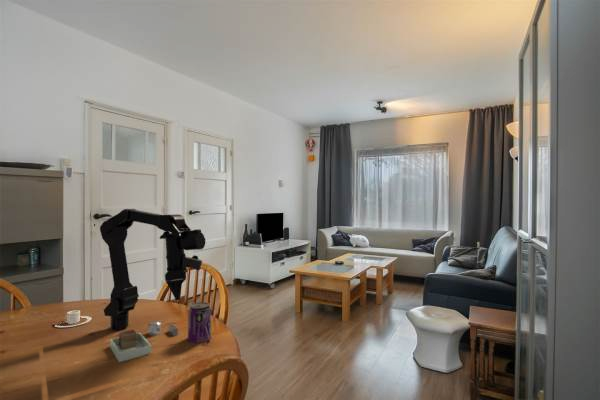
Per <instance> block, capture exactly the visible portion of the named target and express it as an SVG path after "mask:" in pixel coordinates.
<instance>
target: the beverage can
mask: <svg viewBox="0 0 600 400" xmlns="http://www.w3.org/2000/svg"><path fill="white" fill-rule="evenodd" d="M187 319H188V321H187V322H188V323H187V325H188V326H187V340H188V342H189V343H194V344H197V343H198V344H199V343H204V342H205V343H206V342H208V341H210V340H211V338H212V336H211V335H212V331H211V328H212V327H211V326H212V309H211V307H210V303H209V302H207V301H198V302H193V303H191V304H190V305H189V309H188V317H187Z"/></svg>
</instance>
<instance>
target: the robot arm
mask: <svg viewBox="0 0 600 400" xmlns="http://www.w3.org/2000/svg"><path fill="white" fill-rule="evenodd" d="M134 222H136V223H141V224H146V225H151V226H155V227H156V228H157V229H159V230H162V231H163V234H161V235H160V236H159V239H160V240H163V239H164V240H165V249H166V251H165V253H166V255H165V258H166V272H165V273H164V281H165V282H166V284H167V287H168V288H169V290H170V292H171V293H172V295H173V297H174V299H175V301H180V298H181V290H182V285H183V283H184V282H185V281H186V280H187V271H188V269H187V268H189V269H194V270H195V271H200V270H201V267H202V263H203V260H201V259H199V256H198V255H194V254H193V256H192V257H190V256H186V253H185V251H195V250H196V251H197V250H203V249H204V248H205V245H206V238H205V235H204V234H203V232H202V229H200V228H198V229H197V228H196V229H193V230H192V228H191V227H190V226H189V225H188V222H186V219H185V217H184V216H183V215H182V214H160V213H154V212H148V211H144V210H137V209H135V208H124V209H122V210H121V211H120V212H118V213H117V214H115V215H113V216H111V217H110V218H108V219H107V220H105V221H103V222H102V223H101V225H100V226H99V231H100V232H99V233H100V235H101V238H102V240H103V242H105V244H106V245H107V247H108V252H109V258H110V267H111V272H112V273H111V275H112V280H113V288H112V291H111V292H110V302H109V303H108V305H107V306H106V307H105V308H103V314H104V316H105V317H110V324H109V325H110V327H107V329H108V330H112V331H120V332H121V331H124V330H126V329H128V327H129V325H130V324H129V323H130V322H129V321H130V320H129V318H130V317H129V314H130V313H129V312H130V311H132V310H135V307H136V304H137V302H138V300H139V297H140V295H139V293H138V292H139V291H138V286H137V285H134V286H133V284H132V282H131V281H130V274H129V269H128V262H127V254H126V249H125V248H126V247H125V242H126V239H127V237H128V230H129V228H131V227H132V225H133V224H134Z"/></svg>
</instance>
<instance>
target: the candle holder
mask: <svg viewBox="0 0 600 400" xmlns="http://www.w3.org/2000/svg"><path fill="white" fill-rule="evenodd" d="M80 317H81V318H86V319H87V320H86V319H85V320H86V321H84V322H82V323H80V322H79V321H81V319H80ZM66 318H67V321H66V324H67V323H68V324H67V325H60V324H59V325H58V326H57V325H55V326H54V328H72V327H78V326H82V325H83V324H87V323H89V322H91V320H92V317H91V316H86V315H81V310H79V309H78V310H77V309H76V310H75V309H74V310H71V311H67V312H66ZM77 322H78V323H77ZM73 323H75V324H73Z"/></svg>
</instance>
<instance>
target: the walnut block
mask: <svg viewBox="0 0 600 400" xmlns="http://www.w3.org/2000/svg"><path fill="white" fill-rule="evenodd" d="M137 333H138V332H136V331H135V330H134V329H129V330H125V331H124V330H123V331H120V332H118V337H119V346H120V348H121V349H122V350H123V349H127V348H131V347H135V346H136V334H137Z"/></svg>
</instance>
